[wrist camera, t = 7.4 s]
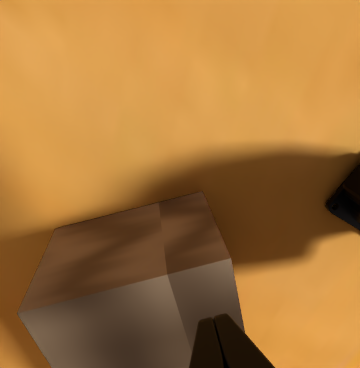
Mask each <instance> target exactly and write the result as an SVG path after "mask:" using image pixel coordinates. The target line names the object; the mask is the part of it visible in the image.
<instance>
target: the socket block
mask: <svg viewBox="0 0 360 368" xmlns="http://www.w3.org/2000/svg"><path fill="white" fill-rule="evenodd" d="M224 313H227V314H229V315H230V317H231V318H232V319H233V320H234V321H235V322H236V323H237V325H238V326H239V327H240V328H241V329H242V330H243V331H244V333H245V330H244V325H243V320H242V314H241V309H240V303H239V298H238V293H237V287H236V282H235V277H234V271H233V266H232V261H231V257H230V255H229V252H228V250H227V248H226V245H225V243H224V240H223V238H222V236H221V233H220V231H219V229H218V226H217V224H216V222H215V219H214V217H213V215H212V212H211V210H210V207H209V205H208V203H207V200H206V198H205V196H204V193H203V191H202V192H198V193H194V194H190V195H186V196H182V197H178V198H174V199H170V200H166V201H162V202H158V203H155V204H151V205H147V206H143V207H139V208H135V209H131V210H127V211H123V212H119V213H115V214H111V215H107V216H103V217H100V218H96V219H92V220H88V221H84V222H80V223H76V224H72V225H68V226H64V227H60V228H56V229H55V231H54V233H53V235H52V237H51V239H50V242H49V244H48V246H47V248H46V250H45V253H44V255H43V257H42V259H41V261H40V264H39V266H38V268H37V270H36V273H35V275H34V277H33V279H32V281H31V284H30V286H29V288H28V290H27V292H26V295H25V297H24V299H23V301H22V303H21V306H20V308H19V310H18V312H17V314H18V316H19V318H20V319H21V321H22V322H23V324H24V325H25V327H26V328H27V330H28V332H29V333H30V335H31V336H32V338H33V339H34V341H35V342H36V344H37V346H38V347H39V349H40V350H41V352H42V353H43V355H44V356H45V358H46V360H47V361H48V363H49V364H50V366H51V367H52V368H189V364H190V359H191V354H192V349H193V344H194V339H195V334H196V329H197V324H198V321H199V320H201V319H205V318H208V317H212V318H214V316H216V315H220V314H224ZM213 320H214V319H213ZM214 324H215V323H214Z"/></svg>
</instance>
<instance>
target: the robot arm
mask: <svg viewBox="0 0 360 368" xmlns="http://www.w3.org/2000/svg"><path fill="white" fill-rule="evenodd" d="M334 204H335V206H334V207H332V206H333V205H334ZM325 207H326V209H327V210H328V211H329V212H331V213H332V214H334V215H336V216H337V217H339V218H340V219H342V220H344V221H345V222H347V223H349V224H350V225H352V226H354V227H355V228H357V229H359V230H360V164H359V165H358V166H357V168H356V169H355V170H354V171H353V172H352V173H351V174H350V176H349V177H348V178H347V179H346V180H345V181H344V183H343V184H342V185H341V186H340V187H339V188H338V189H337V191H336V192H335V193H334V194H333V195H332V196H331V198H330V199H329V200H328V201H327V202H326V205H325ZM213 319H214V320H213ZM214 323H215V324H214ZM189 368H275V367H274V366H273V365H272V364H271V362H270V361H269V360H268V359H267V358H266V357H265V356H264V354H263V353H262V352H261V351H260V350H259V349H258V348H257V346H256V345H255V344H254V343H253V342H252V341H251V340H250V338H249V337H248V336H247V335H246V334H245V333H244V331H243V330H242V329H241V328H240V327H239V326H238V325H237V323H236V322H235V321H234V320H233V319H232V318H231V317H230V315H229V314H227V313H224V314H220V315H216V316H214V318H212V317H208V318H205V319H201V320H199V321H198V324H197V329H196V334H195V339H194V344H193V349H192V354H191V359H190V364H189Z"/></svg>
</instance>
